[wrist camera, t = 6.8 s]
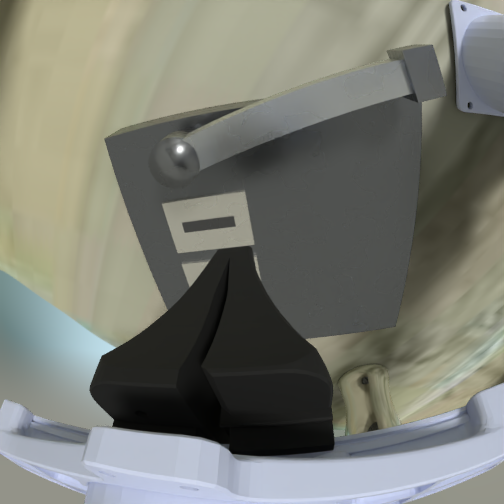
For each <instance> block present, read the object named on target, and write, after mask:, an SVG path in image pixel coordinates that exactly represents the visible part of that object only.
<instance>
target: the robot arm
mask: <svg viewBox="0 0 504 504" xmlns="http://www.w3.org/2000/svg"><path fill="white" fill-rule="evenodd" d="M461 6H462V7H463V9H464V10H463V11H462V9H461ZM449 9H450V15H451V23H452V31H453V40H454V51H455V66H456V104H457V108H458V109H459V110H460V111H463V112H469V113H479V114H487V115H495V116H502V117H504V15H503V14H500V13H497V12H494V11H492V10H489V9H486V8H483V7H479V6H476V5H473V4H469V3H466V2H462V1H459V0H451V1H450V2H449ZM468 103H470V107H469V108H468V106H467V105H468ZM90 393H91V395H92V397H93V398H94V400H95V401H96V402H97V403H98V404H99V405H100V406H101V407H102V408H103V409H104V410H105V411H106V412H107V413H108V414H109V415H110V416H111V417H112V418H113V419H114V422H113V426H112V427H110V426H94V427H93V428H92V429H91V430H90V429H85V428H80V427H76V426H72V425H68V424H64V423H60V422H56V421H52V420H49V419H45V418H41V417H38V416H35V415H33V413H31V411H29V410H28V409H27V408H26V407H24V406H23V405H21V404H19V403H16V402H13V401H10V400H7V399H6V400H4V402H3V404H2V407H1V409H0V454H2V455H3V456H5V457H6V458H8V459H9V460H11V461H12V462H14V463H16V464H17V465H19V466H20V467H22V468H24V469H25V470H27V471H30V472H32V473H34V474H36V475H38V476H40V477H43V478H45V479H47V480H50V481H52V482H54V483H57V484H59V485H62V486H64V487H66V488H69V489H72V490H74V491H77V492H79V493H82V494H85V495H86V497H85V502H84V504H403V503H406V502H410V501H413V500H416V499H419V498H422V497H425V496H428V495H431V494H433V493H436V492H439V491H441V490H444V489H447V488H449V487H452V486H454V485H457V484H459V483H462V482H464V481H466V480H468V479H471V478H473V477H475V476H478V475H480V474H482V473H484V472H486V471H488V470H490V469H492V468H494V467H495V466H497V465H498V464H500V463H501V462H503V461H504V383H500V384H498V385H495V386H493V387H490V388H487V389H485V390H482V391H480V392H478V393H477V394H475V395H474V396H473V397H472V398H471V399H470V400H469V401H468V403H467V405H466V406H464V407H461V408H458V409H455V410H452V411H449V412H446V413H443V414H439V415H436V416H433V417H429V418H425V419H422V420H418V421H414V422H410V423H406V424H402V425H398V426H394V427H389V428H385V429H380V430H375V431H370V432H364V433H359V434H353V435H346V436H340V437H334V433H333V424H332V420H333V415H332V408H331V405H332V397H333V384H332V381H331V377H330V375H329V372H328V370H327V368H326V366H325V364H324V362H323V360H322V358H321V356H320V355H319V353H318V351H317V349H316V348H315V347H313V346H312V345H311V344H310V343H309V342H308V341H306V340H305V339H304V338H303V337H302V336H301V335H300V334H299V333H298V332H297V331H296V330H295V329H294V328H293V327H292V326H291V325H290V323H289V322H288V321H287V320H286V319H285V318H284V316H283V315H282V314H281V313H280V311H279V310H278V309H277V307H276V306H275V305H274V303H273V302H272V300H271V298H270V297H269V295H268V294H267V292H266V290H265V288H264V286H263V284H262V282H261V280H260V278H259V276H258V273H257V271H256V266H255V261H254V255H253V250H252V248H251V247H250V246H243V247H234V248H225V249H218V250H217V252H216V253H215V254H214V256H213V257H212V258H211V260H210V261H209V263H208V264H207V265H206V267H205V268H204V270H203V271H202V272H201V274H200V275H199V276H198V278H197V279H196V280H195V282H194V283H193V284H192V285H191V286H190V288H189V289H188V290H187V291H186V292H185V294H184V295H183V296H182V297H181V298H180V299H179V300H178V301H177V302H176V303H175V304H174V305H173V306H172V307H171V308H170V309H169V310H168V311H167V312H166V313H165V314H164V315H162V316H161V317H160V318H159V319H158V320H156V321H155V322H154V323H153V324H152V325H150V326H149V327H148V328H146V329H145V330H144V331H142V332H141V333H140V334H138V335H137V336H135V337H134V338H132V339H131V340H129V341H128V342H126V343H124V344H123V345H121V346H119V347H117V348H115V349H114V350H112V351H110V352H108V353H106V354H105V355H102V357H101V359H100V362H99V364H98V367H97V369H96V372H95V374H94V377H93V380H92V382H91V385H90Z"/></svg>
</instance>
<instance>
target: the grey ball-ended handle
mask: <svg viewBox="0 0 504 504" xmlns="http://www.w3.org/2000/svg"><path fill="white" fill-rule="evenodd" d="M387 53H388V55H389V58H390V59H386V60H382V61H378V62H374V63H370V64H366V65H363V66H359V67H356V68H352V69H349V70H345V71H342V72H339V73H336V74H332V75H329V76H326V77H323V78H320V79H317V80H314V81H311V82H308V83H305V84H302V85H300V86H297V87H294V88H291V89H289V90H286V91H283V92H281V93H278V94H275V95H273V96H270V97H268V98H265V99H263V100H260V101H258V102H255V103H253V104H251V105H248V106H246V107H244V108H241V109H239V110H237V111H234V112H232V113H230V114H228V115H225V116H223V117H221V118H219V119H217V120H214V121H212V122H210V123H208V124H206V125H204V126H202V127H200V128H198V129H196V130H194V131H192V132H190V133H189V132H185V131H176V132H172V133H170V134H168V135H167V136H166V137H164V138H163V139H162V140H161V141H160V142H159V143H157V144H156V145H155V146H154V147H153V149H152V150H151V152H150V155H149V160H148V164H149V169H150V172H151V174H152V176H153V177H154V179H155V180H156V181H157V182H159V183H160V184H161V185H163V186H165V187H168V188H183V187H186V186H188V185H189V184H191V183H192V182H193V181H194V180H195V179H196V177H197V175H198V173H199V172H200V170H202V169H204V168H207V167H209V166H211V165H213V164H215V163H218V162H220V161H222V160H225V159H227V158H229V157H231V156H234V155H236V154H238V153H241V152H243V151H246V150H248V149H250V148H253V147H255V146H258V145H260V144H263V143H265V142H268V141H270V140H273V139H275V138H278V137H280V136H283V135H286V134H288V133H291V132H294V131H296V130H299V129H302V128H304V127H307V126H310V125H313V124H316V123H318V122H321V121H324V120H327V119H330V118H333V117H336V116H339V115H342V114H345V113H348V112H351V111H354V110H357V109H361V108H364V107H367V106H370V105H374V104H377V103H380V102H384V101H387V100H391V99H394V98H398V97H401V96H402V97H404V98H406V99H409V100H412V101H415V102H417V103H420V102H424V101H428V100H431V99H435V98H439V97H443V96H447V94H446V90H445V86H444V82H443V78H442V74H441V71H440V67H439V64H438V60H437V57H436V54H435V51H434V48H433V45H410V46H405V47H401V48H396V49H392V50H387Z"/></svg>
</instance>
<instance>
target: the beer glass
mask: <svg viewBox="0 0 504 504" xmlns="http://www.w3.org/2000/svg"><path fill="white" fill-rule="evenodd" d="M338 386H339V390H340V392H341V395H342V398H343V401H344V404H345V409H346V428H345V436H346V435H353V434H359V433H364V432H370V431H375V430H380V429H385V428H389V427H394V426H398V425H402V423H401V420H400V418H399V416H398V414H397V412H396V409H395V407H394V405H393V402H392V399H391V395H390V388H389V373H388V370H387V368H386V367H384V366H382V365H378V364H368V365H363V366H359V367H356V368H354V369H351V370H349V371H348V372H346V373H345V374H344V375H343V376H342V377H341V378H340V379H339V382H338Z"/></svg>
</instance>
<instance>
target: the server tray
mask: <svg viewBox="0 0 504 504" xmlns="http://www.w3.org/2000/svg"><path fill="white" fill-rule="evenodd" d="M260 100H263V99H259V100H252V101H245V102H238V103H232V104H226V105H220V106H215V107H209V108H204V109H199V110H194V111H189V112H184V113H180V114H175V115H171V116H167V117H163V118H159V119H155V120H151V121H147V122H143V123H139V124H136V125H132V126H129V127H125V128H122V129H120V130H118V131H116V132H115V133H113V134H111V135H110V136H108V137H106V138H105V143H106V146H107V149H108V153H109V156H110V159H111V162H112V166H113V169H114V172H115V175H116V178H117V181H118V184H119V187H120V190H121V193H122V196H123V199H124V202H125V204H126V207H127V210H128V213H129V216H130V218H131V221H132V224H133V226H134V229H135V232H136V234H137V237H138V240H139V242H140V245H141V247H142V250H143V252H144V255H145V257H146V260H147V262H148V265H149V267H150V270H151V272H152V275H153V277H154V279H155V282H156V284H157V286H158V289H159V291H160V293H161V296H162V298H163V300H164V302H165V305H166V307H167V309H168V310H169V309H170V308H171V307H172V306H173V305H174V304H175V303H176V302H177V301H178V300H179V299H180V298H181V297H182V296H183V295H184V294H185V292H186V291H187V290H188V289H189V288H190V286H191V285H192V284H193V283H194V282H195V280H196V279H197V278H198V276H199V275H200V274H201V272H202V271H203V270H204V268H205V267H206V265H207V264H208V263H209V261H210V260H211V258H212V257H213V256H214V254H215V253H216V252H217V250H218V249H225V248H234V247H243V246H250V247H251V248H252V250H253V255H254V261H255V266H256V271H257V273H258V276H259V278H260V280H261V282H262V284H263V286H264V288H265V290H266V292H267V294H268V295H269V297H270V298H271V300H272V302H273V303H274V305H275V306H276V307H277V309H278V310H279V311H280V313H281V314H282V315H283V316H284V318H285V319H286V320H287V321H288V322H289V323H290V325H291V326H292V327H293V328H294V329H295V330H296V331H297V332H298V333H299V334H300V335H301V336H302V337H303V338H304V339H308V338H317V337H326V336H334V335H342V334H350V333H357V332H364V331H371V330H377V329H384V328H390V327H395V326H396V322H397V318H398V314H399V310H400V305H401V301H402V296H403V292H404V287H405V282H406V276H407V271H408V266H409V260H410V254H411V248H412V241H413V234H414V227H415V219H416V210H417V201H418V190H419V178H420V162H421V137H422V102H420V103H417V102H415V101H412V100H409V99H406V98H404V97H402V96H401V97H398V98H394V99H391V100H387V101H384V102H380V103H377V104H374V105H370V106H367V107H364V108H361V109H357V110H354V111H351V112H348V113H345V114H342V115H339V116H336V117H333V118H330V119H327V120H324V121H321V122H318V123H316V124H313V125H310V126H307V127H304V128H302V129H299V130H296V131H294V132H291V133H288V134H286V135H283V136H280V137H278V138H275V139H273V140H270V141H268V142H265V143H263V144H260V145H258V146H255V147H253V148H250V149H248V150H246V151H243V152H241V153H238V154H236V155H234V156H231V157H229V158H227V159H225V160H222V161H220V162H218V163H215V164H213V165H211V166H209V167H207V168H204V169H202V170H200V172H199V173H198V175H197V177H196V179H195V180H194V181H193V182H192V183H191V184H189V185H188V186H186V187H183V188H168V187H165V186H163V185H161V184H160V183H159V182H157V181H156V180H155V179H154V177H153V176H152V174H151V172H150V169H149V164H148V160H149V155H150V152H151V150H152V149H153V147H154V146H155V145H156V144H157V143H159V142H160V141H161V140H162V139H163V138H164V137H166V136H167V135H168V134H170V133H172V132H176V131H185V132H189V133H190V132H192V131H194V130H196V129H198V128H200V127H202V126H204V125H206V124H208V123H210V122H212V121H214V120H217V119H219V118H221V117H223V116H225V115H228V114H230V113H232V112H234V111H237V110H239V109H241V108H244V107H246V106H248V105H251V104H253V103H255V102H258V101H260Z"/></svg>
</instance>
